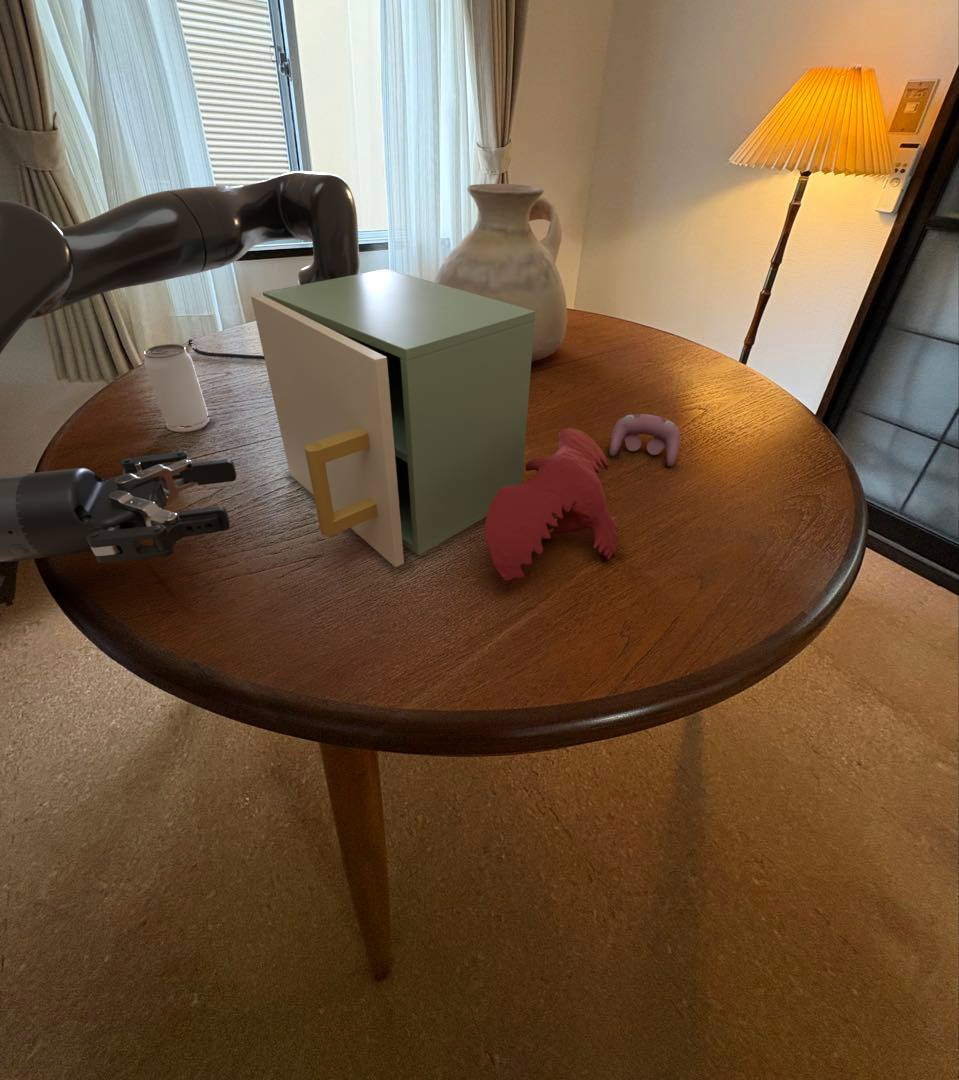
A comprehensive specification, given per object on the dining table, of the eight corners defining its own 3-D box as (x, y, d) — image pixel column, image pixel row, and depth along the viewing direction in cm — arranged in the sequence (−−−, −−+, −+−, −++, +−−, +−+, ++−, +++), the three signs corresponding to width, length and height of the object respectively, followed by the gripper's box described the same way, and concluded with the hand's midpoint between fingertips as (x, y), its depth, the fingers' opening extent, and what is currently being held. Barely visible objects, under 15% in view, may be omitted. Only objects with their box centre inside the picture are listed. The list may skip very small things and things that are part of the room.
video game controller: (673, 466, 85) (684, 420, 84) (674, 467, 81) (686, 419, 79) (608, 455, 88) (617, 410, 86) (606, 455, 83) (616, 408, 82)
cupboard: (418, 556, 65) (406, 349, 50) (299, 471, 79) (262, 292, 64) (521, 496, 75) (535, 311, 61) (399, 431, 89) (386, 268, 75)
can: (195, 435, 87) (170, 359, 80) (157, 431, 88) (130, 355, 81) (218, 418, 92) (197, 345, 85) (183, 414, 93) (159, 341, 86)
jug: (398, 359, 115) (387, 187, 96) (484, 318, 138) (488, 173, 119) (522, 391, 103) (535, 202, 85) (593, 341, 126) (616, 184, 108)
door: (346, 592, 60) (308, 377, 45) (246, 490, 75) (193, 305, 60) (404, 563, 64) (386, 357, 49) (297, 471, 79) (260, 293, 64)
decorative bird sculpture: (612, 514, 80) (554, 426, 77) (669, 491, 73) (609, 394, 71) (522, 643, 60) (441, 531, 58) (589, 626, 54) (502, 500, 51)
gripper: (-18, 528, 42) (213, 499, 45) (44, 440, 53) (227, 423, 56) (29, 600, 47) (236, 569, 50) (78, 506, 57) (245, 486, 61)
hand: (231, 492), depth 53 cm, fingers open, 8 cm apart
